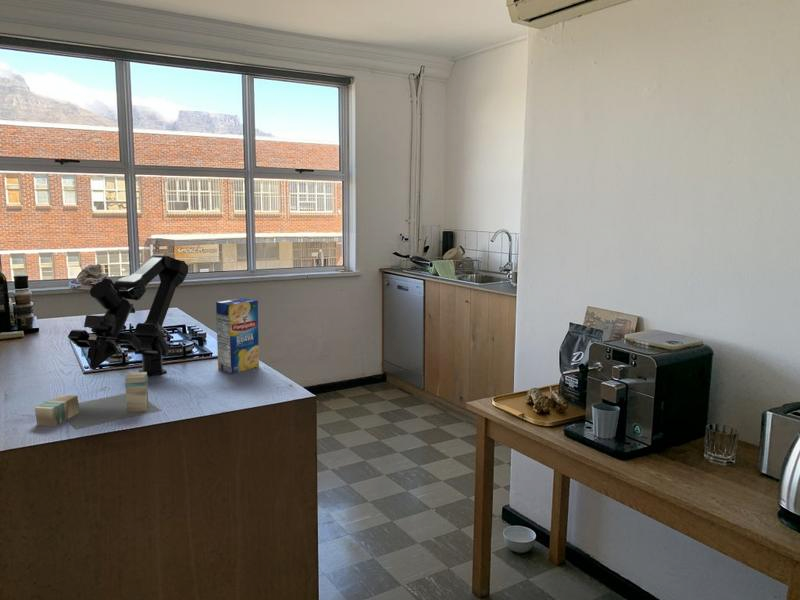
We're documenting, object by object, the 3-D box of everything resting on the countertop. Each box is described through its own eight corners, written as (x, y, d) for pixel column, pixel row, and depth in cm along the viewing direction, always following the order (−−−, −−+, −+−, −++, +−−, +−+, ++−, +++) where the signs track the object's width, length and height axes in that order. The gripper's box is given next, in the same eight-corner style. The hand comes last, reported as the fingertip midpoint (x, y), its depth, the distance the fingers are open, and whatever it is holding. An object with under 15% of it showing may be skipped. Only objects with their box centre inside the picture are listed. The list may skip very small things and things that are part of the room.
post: (129, 406, 158) (127, 373, 157) (148, 404, 159) (147, 371, 158) (126, 412, 154) (124, 378, 152) (146, 410, 155) (144, 377, 153)
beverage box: (217, 369, 193) (215, 302, 189) (246, 362, 201) (244, 297, 198) (231, 374, 189) (229, 304, 185) (259, 366, 197) (257, 300, 193)
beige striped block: (61, 394, 152) (34, 407, 144) (77, 395, 152) (51, 408, 143) (63, 411, 153) (36, 425, 145) (79, 412, 153) (54, 427, 144)
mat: (55, 408, 156) (54, 407, 156) (134, 392, 169) (134, 391, 169) (76, 430, 142) (75, 429, 142) (160, 411, 156) (160, 410, 156)
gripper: (69, 300, 163) (43, 351, 155) (132, 304, 160) (109, 355, 152) (90, 322, 173) (67, 371, 164) (150, 326, 170) (130, 375, 161)
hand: (92, 368), depth 160 cm, fingers closed
